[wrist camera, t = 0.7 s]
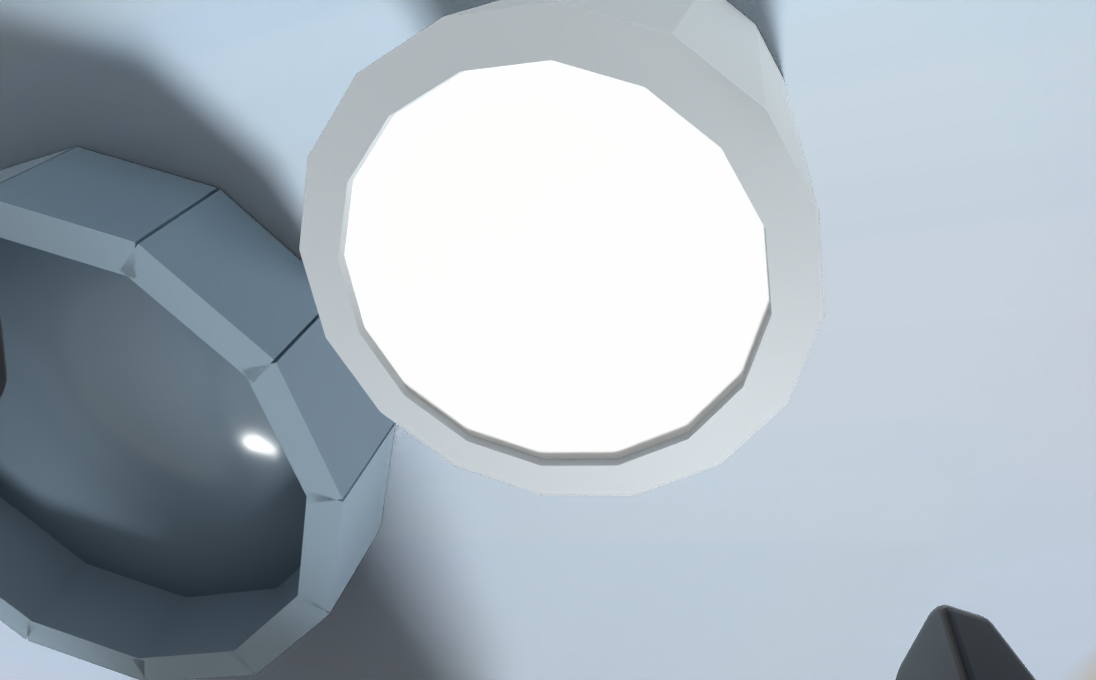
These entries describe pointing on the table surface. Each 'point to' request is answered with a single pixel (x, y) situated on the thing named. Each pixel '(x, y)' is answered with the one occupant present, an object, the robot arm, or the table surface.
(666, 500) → the table surface
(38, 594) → the bowl
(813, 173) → the table surface
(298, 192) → the table surface
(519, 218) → the shot glass
